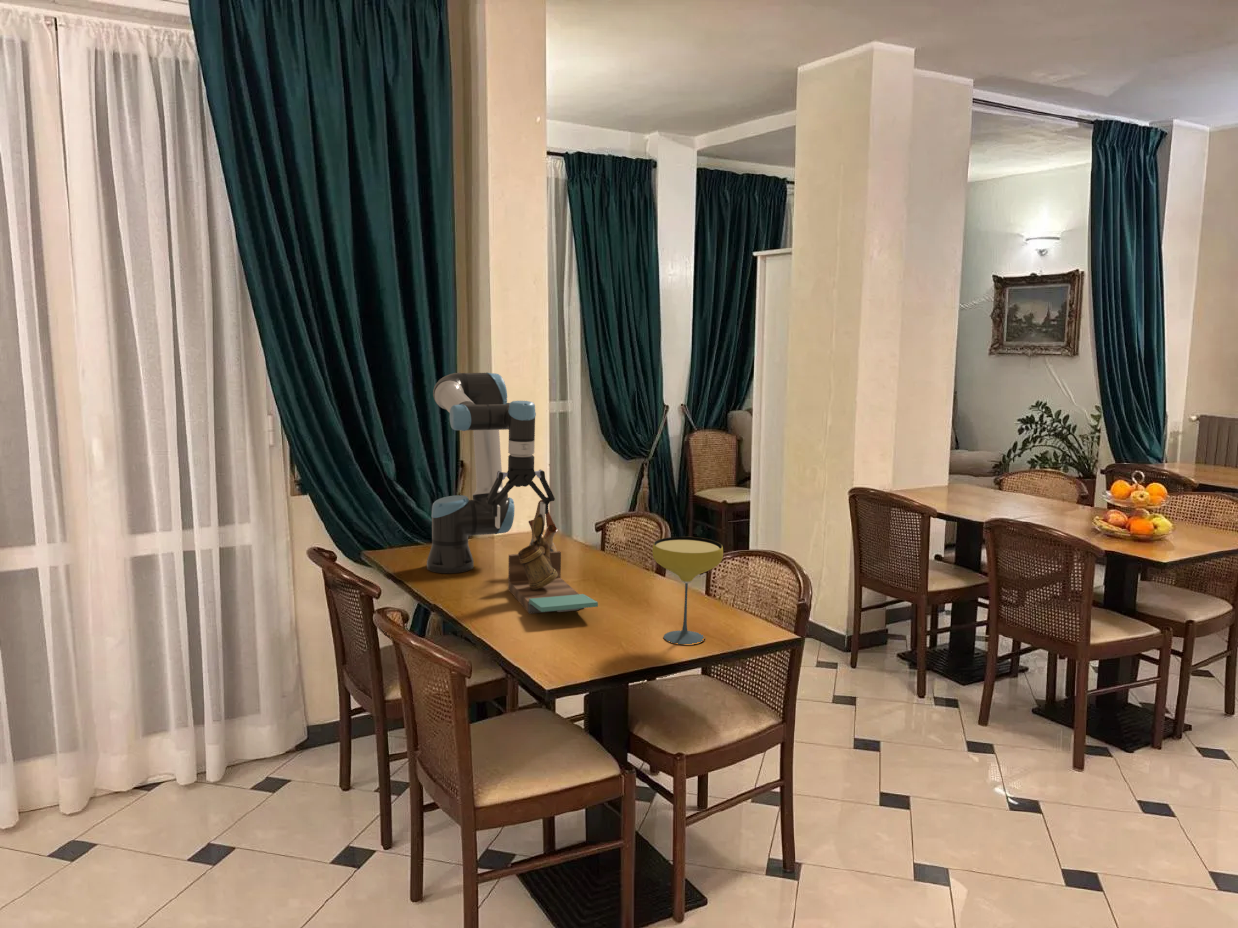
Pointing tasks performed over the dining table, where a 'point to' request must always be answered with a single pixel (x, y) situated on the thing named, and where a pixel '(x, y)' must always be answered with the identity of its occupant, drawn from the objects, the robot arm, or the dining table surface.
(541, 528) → the wooden mug
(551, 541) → the ceramic vessel
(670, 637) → the cocktail glass
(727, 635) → the dining table surface
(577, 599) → the panel
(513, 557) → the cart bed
